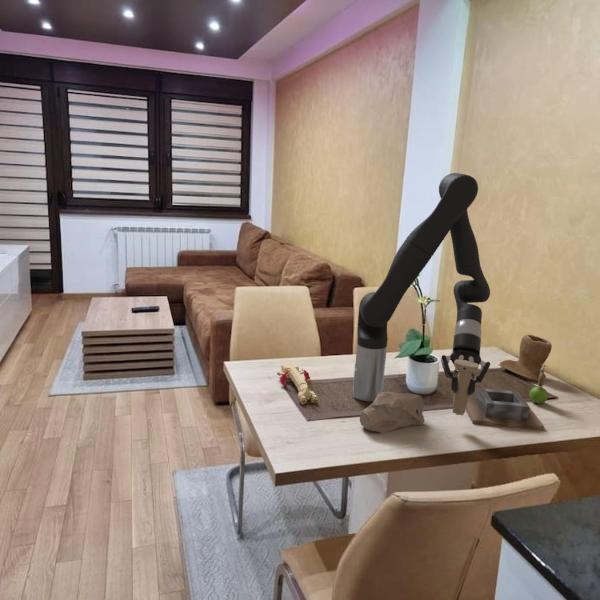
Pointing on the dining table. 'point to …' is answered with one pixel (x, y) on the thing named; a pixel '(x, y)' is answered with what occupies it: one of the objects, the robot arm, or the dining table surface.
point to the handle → (463, 385)
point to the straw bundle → (298, 381)
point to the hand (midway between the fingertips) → (462, 392)
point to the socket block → (502, 410)
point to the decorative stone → (393, 412)
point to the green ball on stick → (539, 390)
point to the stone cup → (529, 357)
